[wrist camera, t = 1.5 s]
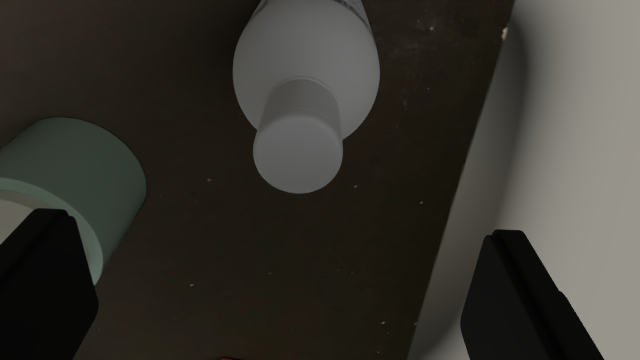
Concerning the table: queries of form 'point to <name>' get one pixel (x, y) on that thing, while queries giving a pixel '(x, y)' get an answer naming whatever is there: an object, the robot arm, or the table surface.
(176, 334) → the table surface
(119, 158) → the green cylindrical jar
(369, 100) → the bath foam
